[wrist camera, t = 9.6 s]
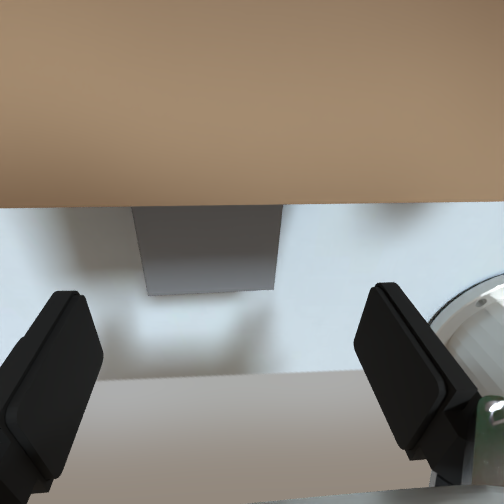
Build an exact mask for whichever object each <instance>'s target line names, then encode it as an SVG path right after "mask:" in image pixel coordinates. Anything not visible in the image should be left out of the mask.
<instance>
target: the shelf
mask: <svg viewBox="0 0 504 504" xmlns="http://www.w3.org/2000/svg"><path fill="white" fill-rule="evenodd" d="M493 201H504V0H0V208H54V207H127V206H200V205H273V204H347V203H420V202H493Z"/></svg>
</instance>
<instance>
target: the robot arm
mask: <svg viewBox="0 0 504 504" xmlns="http://www.w3.org/2000/svg"><path fill="white" fill-rule="evenodd" d="M354 349H355V352H356V354H357V356H358V359H359V361H360V363H361V365H362V367H363V370H364V372H365V374H366V376H367V378H368V380H369V383H370V385H371V387H372V389H373V391H374V394H375V396H376V398H377V400H378V402H379V405H380V407H381V409H382V411H383V413H384V415H385V417H386V420H387V422H388V424H389V426H390V429H391V431H392V433H393V435H394V437H395V440H396V442H397V444H398V446H399V447H400V448H401V449H403V450H405V451H406V453H407V456H408V458H409V460H423V459H427V461H428V463H429V465H430V467H431V469H432V471H431V477H430V483H429V487H426V488H412V489H399V490H387V491H377V492H366V493H355V494H344V495H333V496H322V497H312V498H301V499H290V500H280V501H270V502H259V503H249V504H504V274H503V275H500V276H497V277H494V278H492V279H490V280H487V281H485V282H483V283H481V284H479V285H477V286H475V287H473V288H472V289H470V290H468V291H466V292H465V293H463V294H462V295H461V296H459V297H458V298H456V299H455V300H454V301H452V302H451V303H450V304H449V305H448V306H447V307H446V308H445V309H444V310H442V311H441V312H440V314H439V315H438V316H437V317H436V318H435V320H434V321H433V322H432V324H431V325H430V326H429V325H428V323H427V322H426V321H425V319H424V318H423V317H422V316H421V314H420V313H419V312H418V310H417V309H416V308H415V306H414V305H413V304H412V303H411V301H410V300H409V299H408V297H407V296H406V295H405V293H404V292H403V291H402V290H401V288H400V287H399V286H398V285H397V284H396V283H394V282H388V283H377V284H376V285H375V287H372V288H371V289H370V292H369V295H368V298H367V301H366V304H365V307H364V311H363V314H362V317H361V320H360V323H359V326H358V329H357V332H356V335H355V338H354ZM102 362H103V350H102V347H101V344H100V341H99V338H98V335H97V332H96V329H95V326H94V323H93V319H92V316H91V313H90V310H89V307H88V304H87V301H86V298H85V296H84V295H80V294H79V292H77V291H56V292H54V293H53V294H52V296H51V297H50V299H49V300H48V302H47V303H46V305H45V306H44V308H43V309H42V311H41V312H40V313H39V315H38V316H37V318H36V319H35V321H34V322H33V324H32V325H31V327H30V328H29V330H28V331H27V333H26V334H25V336H24V337H22V338H21V339H20V340H19V341H18V342H17V344H16V345H15V347H14V348H13V349H12V351H11V352H10V354H9V355H8V357H7V358H6V360H5V361H4V363H3V364H2V366H1V367H0V504H27V502H28V500H29V497H30V495H31V494H34V493H45V492H49V490H50V487H51V485H52V482H53V480H54V479H56V478H58V477H59V476H60V475H61V473H62V471H63V469H64V466H65V463H66V460H67V458H68V455H69V452H70V450H71V447H72V444H73V441H74V439H75V436H76V433H77V431H78V427H79V425H80V422H81V420H82V417H83V414H84V412H85V409H86V406H87V403H88V401H89V398H90V395H91V393H92V390H93V387H94V384H95V382H96V379H97V376H98V374H99V371H100V368H101V365H102Z"/></svg>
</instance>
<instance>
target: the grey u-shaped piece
mask: <svg viewBox="0 0 504 504" xmlns="http://www.w3.org/2000/svg"><path fill="white" fill-rule="evenodd" d="M131 207H132V213H133V218H134V223H135V229H136V234H137V239H138V244H139V250H140V255H141V260H142V265H143V271H144V276H145V281H146V287H147V292H148V296H156V295H176V294H196V293H216V292H236V291H256V290H274V282H275V273H276V264H277V254H278V245H279V236H280V227H281V217H282V208H283V204H273V205H200V206H131Z"/></svg>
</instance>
